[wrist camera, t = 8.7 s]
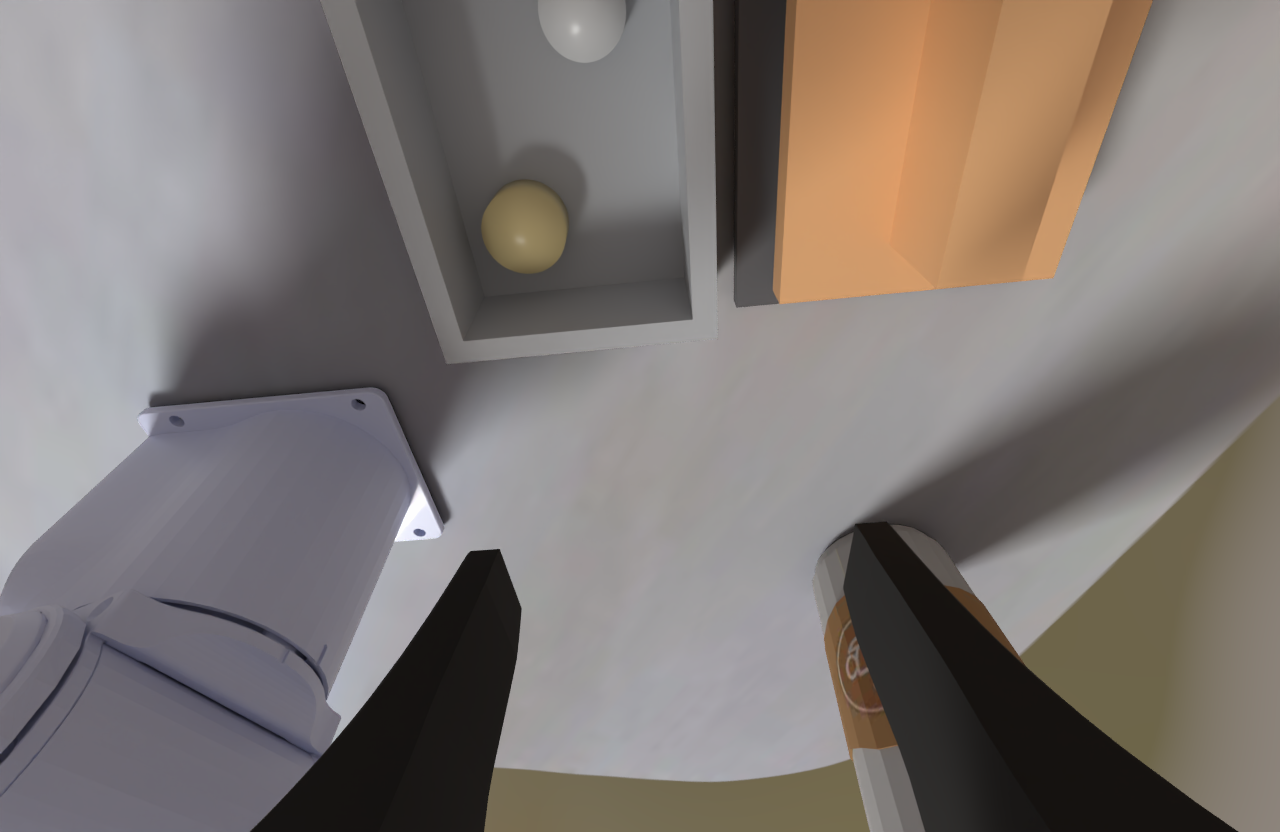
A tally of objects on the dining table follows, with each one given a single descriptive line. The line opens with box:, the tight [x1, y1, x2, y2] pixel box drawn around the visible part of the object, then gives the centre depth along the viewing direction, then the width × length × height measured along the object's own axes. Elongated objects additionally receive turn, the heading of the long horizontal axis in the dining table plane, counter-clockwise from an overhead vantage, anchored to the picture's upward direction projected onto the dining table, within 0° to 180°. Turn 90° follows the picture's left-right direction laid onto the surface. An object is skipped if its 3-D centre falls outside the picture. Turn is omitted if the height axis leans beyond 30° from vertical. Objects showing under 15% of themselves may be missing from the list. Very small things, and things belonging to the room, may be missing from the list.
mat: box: [734, 0, 787, 307], centre depth 15 cm, size 10×13×1 cm
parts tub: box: [320, 0, 718, 364], centre depth 15 cm, size 8×11×4 cm
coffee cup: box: [813, 525, 1025, 832], centre depth 22 cm, size 8×8×15 cm
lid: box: [773, 0, 1153, 304], centre depth 13 cm, size 8×11×5 cm
